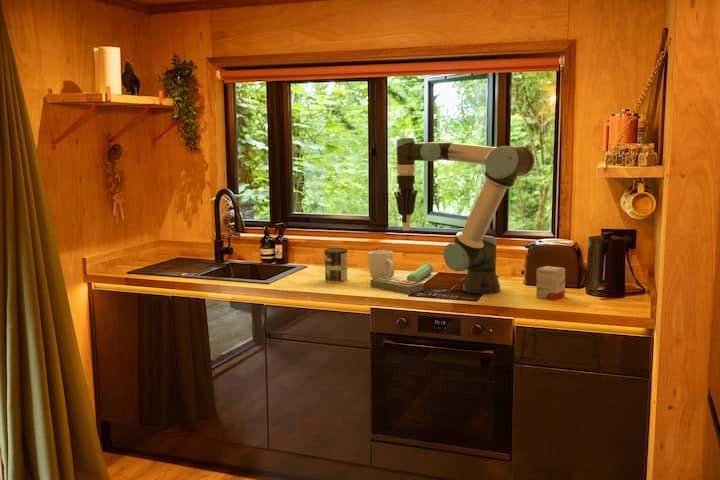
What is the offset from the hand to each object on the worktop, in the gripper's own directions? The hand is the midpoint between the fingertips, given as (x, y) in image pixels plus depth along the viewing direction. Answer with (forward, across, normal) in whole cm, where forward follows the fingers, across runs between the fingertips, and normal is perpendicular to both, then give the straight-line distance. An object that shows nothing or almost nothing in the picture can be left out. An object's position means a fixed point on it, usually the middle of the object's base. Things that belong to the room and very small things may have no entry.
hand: (406, 230), depth 306 cm
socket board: (+24, +6, 0) cm, 25 cm away
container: (+25, -15, -6) cm, 30 cm away
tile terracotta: (+24, +7, +7) cm, 26 cm away
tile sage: (+24, +7, -6) cm, 26 cm away
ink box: (+25, -21, +57) cm, 66 cm away
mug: (+25, -1, -15) cm, 29 cm away
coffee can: (+25, +11, -32) cm, 42 cm away
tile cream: (+24, +7, 0) cm, 25 cm away
